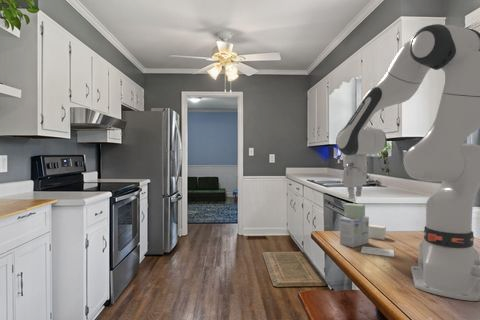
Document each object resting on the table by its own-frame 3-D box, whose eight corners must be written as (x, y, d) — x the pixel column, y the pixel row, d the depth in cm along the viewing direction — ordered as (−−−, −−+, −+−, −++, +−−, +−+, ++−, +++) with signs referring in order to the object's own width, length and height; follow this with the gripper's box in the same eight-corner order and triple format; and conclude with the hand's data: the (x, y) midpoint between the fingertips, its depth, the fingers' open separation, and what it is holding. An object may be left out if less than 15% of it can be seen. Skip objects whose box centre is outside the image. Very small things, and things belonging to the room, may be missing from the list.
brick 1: (362, 218, 123) (362, 206, 122) (344, 216, 127) (344, 204, 127) (365, 217, 126) (365, 204, 126) (347, 215, 130) (347, 203, 130)
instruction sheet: (394, 257, 110) (394, 256, 110) (360, 252, 115) (360, 252, 115) (394, 250, 117) (394, 249, 117) (362, 246, 122) (362, 246, 122)
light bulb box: (354, 239, 132) (354, 214, 132) (369, 243, 127) (369, 216, 127) (339, 244, 126) (339, 217, 126) (354, 248, 121) (354, 220, 120)
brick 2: (383, 239, 132) (383, 228, 132) (366, 237, 136) (366, 225, 136) (385, 237, 135) (385, 226, 135) (368, 235, 139) (368, 224, 139)
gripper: (355, 163, 116) (356, 200, 115) (369, 162, 132) (369, 195, 132) (338, 163, 119) (338, 199, 119) (354, 162, 136) (354, 194, 136)
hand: (355, 197), depth 126 cm, fingers open, 8 cm apart
